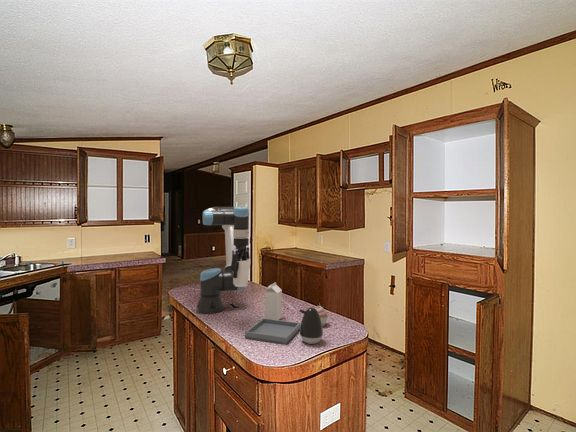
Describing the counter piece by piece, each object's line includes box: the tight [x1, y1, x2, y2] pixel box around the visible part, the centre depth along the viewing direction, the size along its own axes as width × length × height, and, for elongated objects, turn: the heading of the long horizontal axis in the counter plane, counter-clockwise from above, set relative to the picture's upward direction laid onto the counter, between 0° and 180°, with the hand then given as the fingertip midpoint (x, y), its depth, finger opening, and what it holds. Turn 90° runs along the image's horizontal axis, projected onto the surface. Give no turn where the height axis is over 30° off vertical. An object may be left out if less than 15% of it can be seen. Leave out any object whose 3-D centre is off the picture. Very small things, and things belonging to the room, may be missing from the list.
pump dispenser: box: [299, 306, 324, 345], centre depth 146 cm, size 10×10×15 cm
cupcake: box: [314, 305, 329, 327], centre depth 167 cm, size 9×9×10 cm
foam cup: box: [235, 258, 251, 288], centre depth 166 cm, size 10×9×13 cm
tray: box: [244, 317, 301, 346], centre depth 155 cm, size 20×20×3 cm
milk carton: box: [264, 282, 283, 320], centre depth 175 cm, size 7×7×19 cm
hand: (240, 282), depth 166 cm, fingers closed on foam cup, 9 cm apart
